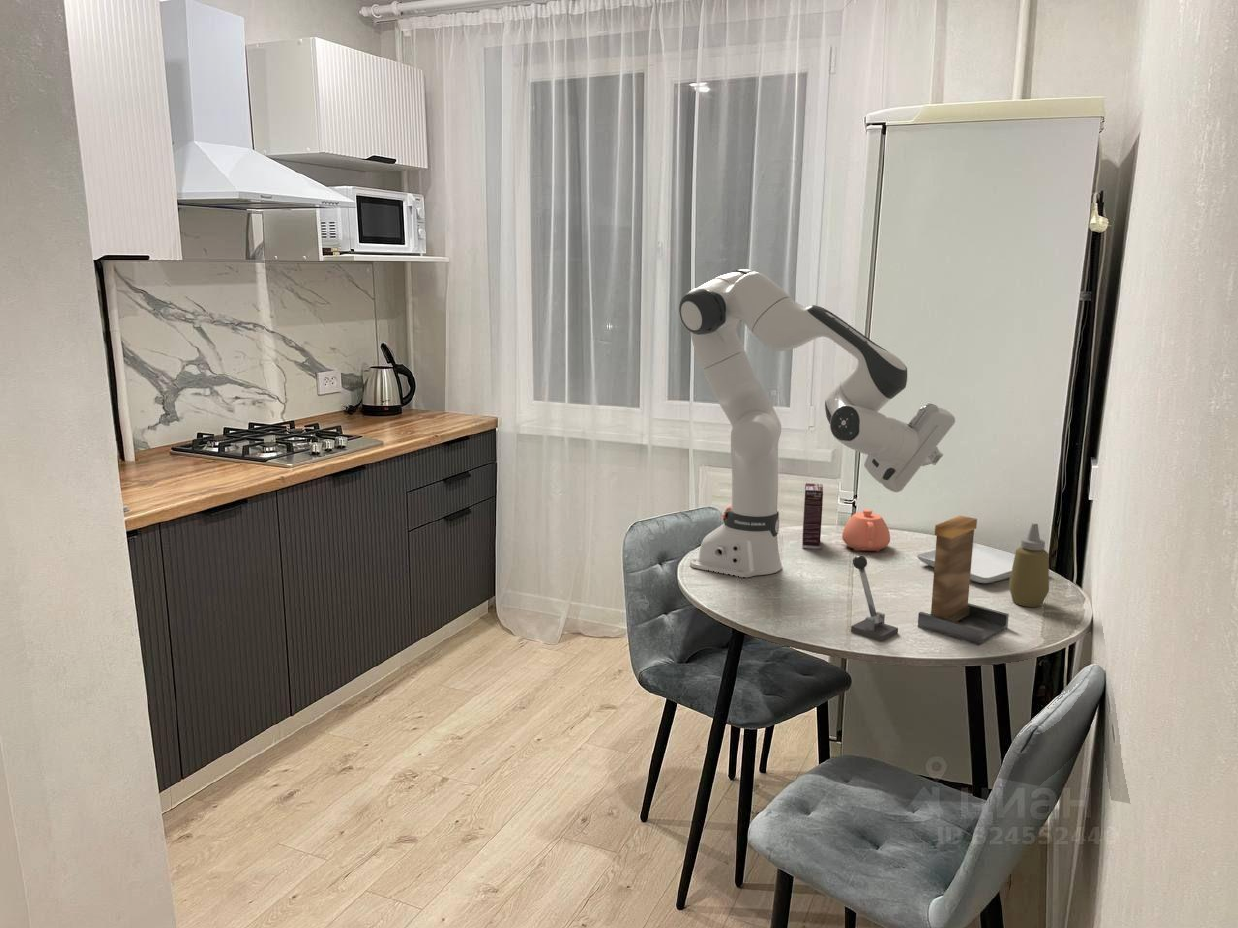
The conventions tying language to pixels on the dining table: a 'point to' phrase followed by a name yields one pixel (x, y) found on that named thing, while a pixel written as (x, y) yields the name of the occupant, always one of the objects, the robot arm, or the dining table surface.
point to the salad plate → (982, 563)
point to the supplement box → (812, 516)
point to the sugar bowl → (866, 532)
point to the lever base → (874, 629)
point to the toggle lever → (866, 587)
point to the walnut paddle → (953, 568)
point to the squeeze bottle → (1030, 571)
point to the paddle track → (968, 624)
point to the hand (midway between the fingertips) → (937, 458)
